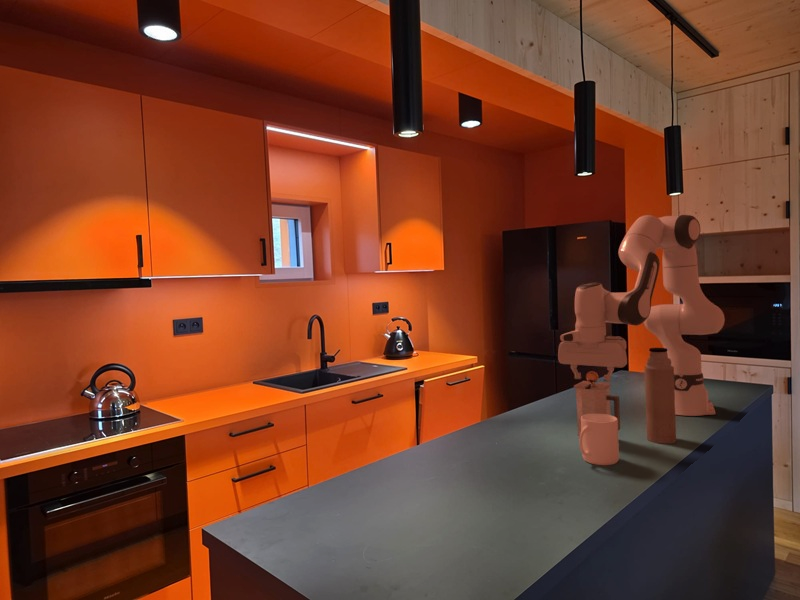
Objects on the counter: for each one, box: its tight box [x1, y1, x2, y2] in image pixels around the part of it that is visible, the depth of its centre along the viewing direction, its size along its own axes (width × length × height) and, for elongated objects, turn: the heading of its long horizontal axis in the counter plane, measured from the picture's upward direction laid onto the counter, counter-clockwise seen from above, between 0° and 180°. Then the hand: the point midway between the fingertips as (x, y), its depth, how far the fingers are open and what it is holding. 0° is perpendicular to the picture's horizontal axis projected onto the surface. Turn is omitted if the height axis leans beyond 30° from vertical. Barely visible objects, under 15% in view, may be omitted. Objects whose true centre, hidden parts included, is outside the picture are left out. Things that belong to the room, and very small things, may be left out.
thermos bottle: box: [644, 347, 677, 445], centre depth 156 cm, size 8×8×28 cm
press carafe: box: [573, 380, 621, 440], centre depth 159 cm, size 9×12×17 cm
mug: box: [579, 414, 620, 466], centre depth 141 cm, size 10×12×12 cm
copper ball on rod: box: [585, 370, 599, 387], centre depth 159 cm, size 7×7×18 cm
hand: (592, 379), depth 159 cm, fingers open, 8 cm apart
